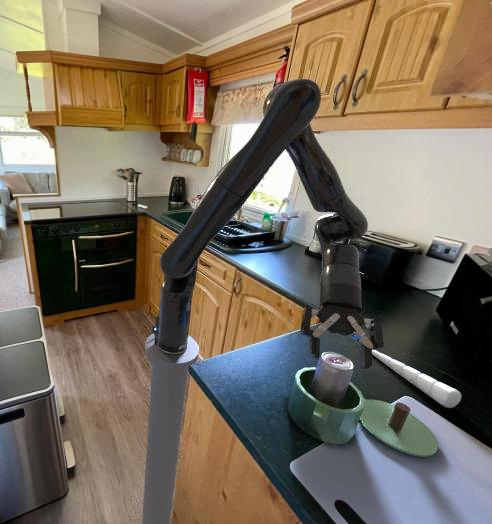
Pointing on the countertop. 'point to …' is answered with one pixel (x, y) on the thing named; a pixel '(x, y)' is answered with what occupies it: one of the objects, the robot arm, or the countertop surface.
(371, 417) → the pot lid
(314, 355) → the robot arm
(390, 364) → the unicorn horn
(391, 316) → the countertop surface
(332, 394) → the beverage can
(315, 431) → the pot
